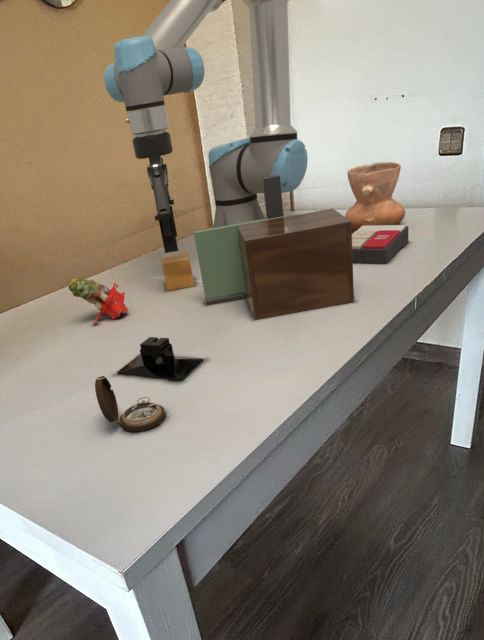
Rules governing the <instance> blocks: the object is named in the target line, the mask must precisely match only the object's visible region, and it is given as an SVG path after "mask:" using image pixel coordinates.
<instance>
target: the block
mask: <svg viewBox="0 0 484 640" xmlns="http://www.w3.org/2000/svg"><path fill="white" fill-rule="evenodd" d="M161 268H162V272H163V278H164V282H165V287H166V291H168V292H169V291H174V290H181V289H185V288H191V287H195V281H194V276H193V270H192V264H191V259H190V254H189V252H188V251H187V252H180V253H176V254H175V253H174V254H169V255H163V256H161Z"/></svg>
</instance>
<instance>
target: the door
mask: <svg viewBox="0 0 484 640" xmlns="http://www.w3.org/2000/svg"><path fill="white" fill-rule="evenodd" d="M262 179H263V189H264V193H263V197H264V207H265V215H266V217H265V219H261V220H255V221H250V222H244V223H239V224H233V225H228V226H222V227H216V228H213V227H212V228H208V229H207V228H206V229H200V230H195V231H193V237H194V243H195V247H196V248H195V249H196V253H197V258H198V259H197V260H198V265H199V270H200V276H201V282H202V287H203V294H204V298H205V300H206V299H209V298H214V297H220V296H225V295H231V294H236V293H242V292H246V288H245V281H244V274H243V266H242V259H241V252H240V244H239V237H238V230H237V226H238V225H244V224H249V223H255V222H260V221H266V220H272V219H277V218H283V217H288V216H290V215H289V214H284V203H283V193H282V192H281V182H280V176H279V175H273V176H268V177H263V178H262Z"/></svg>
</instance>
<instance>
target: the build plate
mask: <svg viewBox="0 0 484 640" xmlns="http://www.w3.org/2000/svg"><path fill="white" fill-rule="evenodd" d="M139 347H140V349H139V353H140V354H138V355H137V356H136V357H135V358H133V359H132V360H131V361H129V362H128V363H127V364H125V365H124V366H123V367H121V368H120V369H119V370H118V371H117V372H116V374H117V375H121V376H128V377H129V376H130V377H139V378H146V379H155V380H164V381H165V380H167V381H168V382H176V383H177V382H183V381H184V380H185V379H187V378H188V377H189V376H190V375H191V374H192V373H193V372H194V371H195V370H196V369H197V368H198V367H199V366H200V365H201V364H203V362H204V361H205V359H204V358H201V357H199V358H198V357H188V356H175V353H174V348H173V345H172V343H170V338H169V337H158V336H157V337H155V336H149V337H148V338H146V339H145V340H144V341H143V342H142V343H140V344H139Z"/></svg>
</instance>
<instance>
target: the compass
mask: <svg viewBox="0 0 484 640" xmlns="http://www.w3.org/2000/svg"><path fill="white" fill-rule="evenodd" d="M111 388H112V385H111V382H110V381H109V379H108V378H107V377H106V376H105V375H102V376H98V377H96V378H95V382H94V390H95V396H96V400H97V403H98V406H99V408H100V411H101V413H102V415H103V417H104V419H106V420H107V422H110V423H114V422H119V424H120V426H121V428H122V429H124V430H126V431H128V432H129V431H130V432H142V431H143V432H144V431H148V430H150V429H153V428H154V427H156V426H158V425H159V424H161V423H162V422H163V421H164V419H165V417H166V415H167V412H166V411H165V408H164V407H163V406H162V405H161V404H158V403H155V402H153V401H151V398H150V397H149V396H143V397H139V398H138V399H137V401H136V403H135V404H133V405H131V406H129V407H128V408H127V409H126V410H125V411H124V412H122V414H121V415H119V407H118V402H117V401H118V400H117V397H116V394H115V392H114V389H111ZM143 399H147V401H146V400H143ZM140 400H141V401H140ZM139 401H140V402H139ZM150 401H151V402H150Z"/></svg>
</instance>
